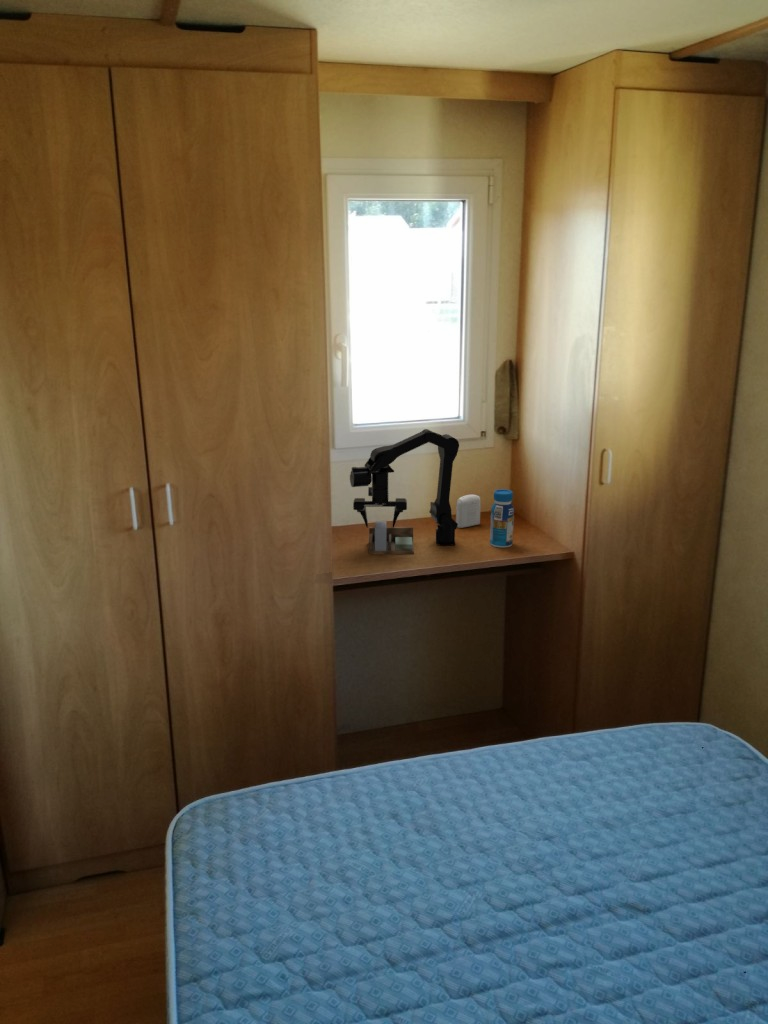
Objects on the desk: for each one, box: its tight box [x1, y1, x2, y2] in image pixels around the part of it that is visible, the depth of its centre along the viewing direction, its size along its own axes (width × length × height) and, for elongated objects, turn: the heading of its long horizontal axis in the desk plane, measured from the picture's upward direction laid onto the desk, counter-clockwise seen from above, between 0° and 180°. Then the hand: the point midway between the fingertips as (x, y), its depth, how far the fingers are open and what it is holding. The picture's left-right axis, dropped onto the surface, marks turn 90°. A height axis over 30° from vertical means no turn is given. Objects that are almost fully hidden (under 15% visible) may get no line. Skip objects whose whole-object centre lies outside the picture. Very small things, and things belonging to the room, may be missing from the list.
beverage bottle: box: [489, 488, 515, 549], centre depth 283 cm, size 8×8×20 cm
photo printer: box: [455, 494, 482, 529], centre depth 305 cm, size 10×4×12 cm, turn 123°
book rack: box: [368, 526, 415, 555], centre depth 281 cm, size 16×12×6 cm
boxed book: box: [374, 520, 388, 551], centre depth 280 cm, size 4×9×8 cm, turn 179°
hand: (380, 527), depth 279 cm, fingers open, 9 cm apart
